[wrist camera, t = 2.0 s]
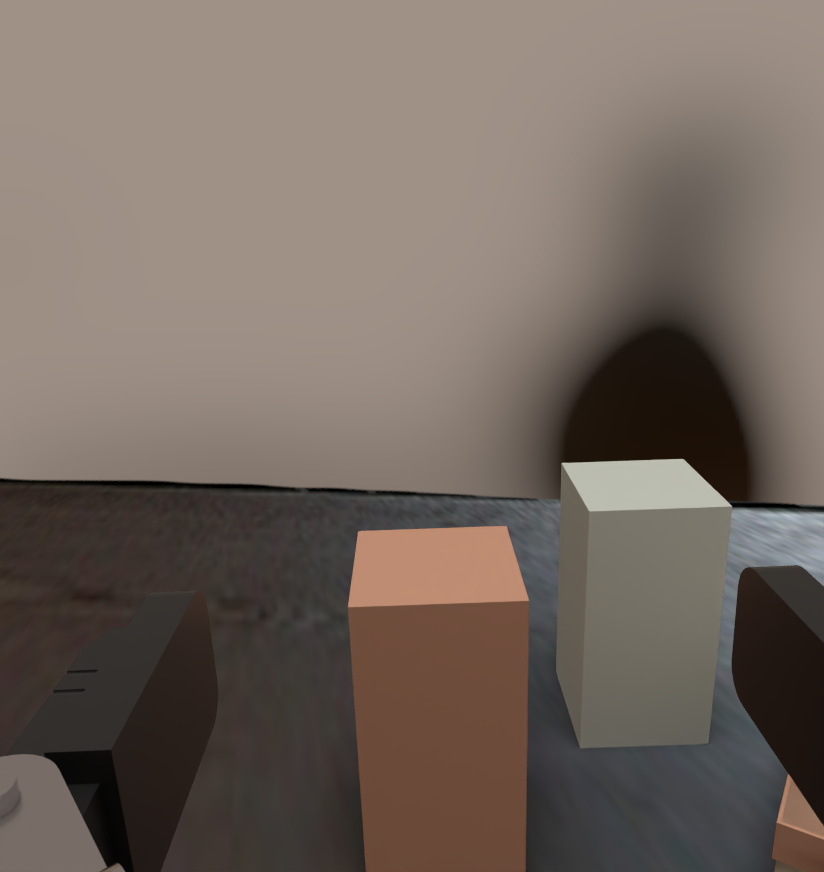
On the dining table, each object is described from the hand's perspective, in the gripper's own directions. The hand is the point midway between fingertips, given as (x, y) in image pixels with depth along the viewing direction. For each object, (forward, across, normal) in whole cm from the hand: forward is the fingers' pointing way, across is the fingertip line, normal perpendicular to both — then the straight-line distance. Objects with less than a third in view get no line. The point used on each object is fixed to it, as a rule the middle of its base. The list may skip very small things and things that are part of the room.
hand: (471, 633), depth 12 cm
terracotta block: (+12, 0, +14) cm, 18 cm away
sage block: (+18, -8, +14) cm, 24 cm away
